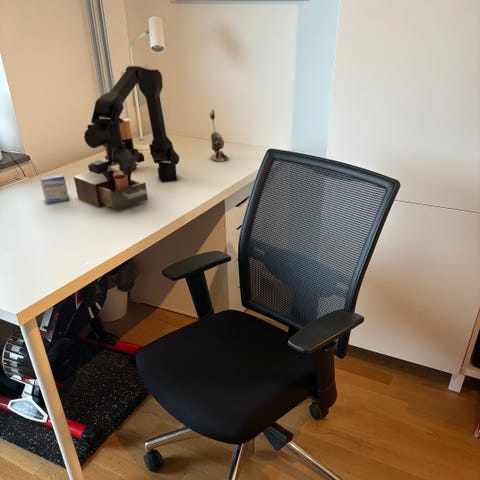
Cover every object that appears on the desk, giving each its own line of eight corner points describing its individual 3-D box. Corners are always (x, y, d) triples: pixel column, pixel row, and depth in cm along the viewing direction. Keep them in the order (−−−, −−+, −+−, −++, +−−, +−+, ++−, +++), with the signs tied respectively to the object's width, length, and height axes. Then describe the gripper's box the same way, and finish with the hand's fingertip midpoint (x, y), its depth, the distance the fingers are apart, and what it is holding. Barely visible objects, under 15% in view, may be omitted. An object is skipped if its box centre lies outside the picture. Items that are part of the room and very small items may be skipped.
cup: (113, 188, 174) (110, 175, 172) (128, 186, 176) (126, 173, 173) (114, 193, 170) (112, 180, 168) (130, 191, 171) (128, 178, 169)
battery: (116, 171, 208) (108, 120, 196) (124, 166, 213) (116, 116, 202) (132, 172, 206) (124, 121, 195) (139, 167, 211) (132, 117, 200)
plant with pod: (207, 163, 214) (204, 113, 203) (212, 155, 223) (209, 107, 212) (226, 163, 213) (223, 113, 202) (230, 155, 222) (228, 107, 211)
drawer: (156, 203, 173) (153, 185, 170) (124, 214, 165) (120, 196, 162) (126, 192, 183) (124, 175, 180) (95, 202, 176) (91, 184, 172)
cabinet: (133, 196, 182) (130, 174, 178) (99, 207, 174) (94, 184, 169) (112, 188, 190) (108, 166, 186) (78, 198, 182) (73, 176, 177)
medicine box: (47, 204, 178) (41, 180, 173) (45, 200, 181) (39, 176, 176) (69, 200, 181) (64, 176, 176) (67, 196, 184) (61, 173, 179)
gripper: (102, 150, 153) (111, 200, 162) (151, 138, 164) (157, 184, 173) (83, 144, 160) (92, 192, 169) (131, 133, 171) (137, 178, 180)
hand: (121, 187), depth 172 cm, fingers closed on cup, 5 cm apart
